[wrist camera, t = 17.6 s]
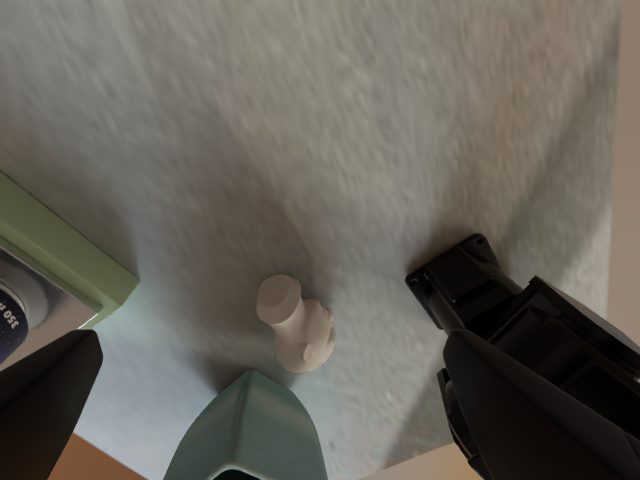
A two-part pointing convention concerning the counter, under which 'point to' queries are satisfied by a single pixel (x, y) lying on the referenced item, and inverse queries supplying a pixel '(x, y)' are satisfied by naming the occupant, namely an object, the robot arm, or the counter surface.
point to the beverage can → (11, 323)
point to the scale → (62, 250)
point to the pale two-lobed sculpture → (296, 324)
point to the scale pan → (42, 301)
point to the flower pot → (250, 436)
